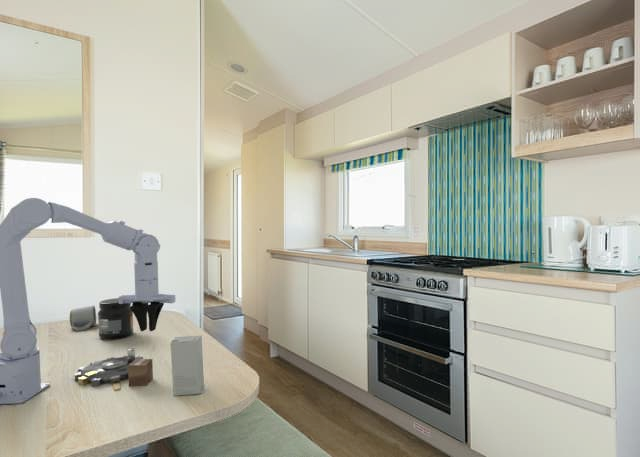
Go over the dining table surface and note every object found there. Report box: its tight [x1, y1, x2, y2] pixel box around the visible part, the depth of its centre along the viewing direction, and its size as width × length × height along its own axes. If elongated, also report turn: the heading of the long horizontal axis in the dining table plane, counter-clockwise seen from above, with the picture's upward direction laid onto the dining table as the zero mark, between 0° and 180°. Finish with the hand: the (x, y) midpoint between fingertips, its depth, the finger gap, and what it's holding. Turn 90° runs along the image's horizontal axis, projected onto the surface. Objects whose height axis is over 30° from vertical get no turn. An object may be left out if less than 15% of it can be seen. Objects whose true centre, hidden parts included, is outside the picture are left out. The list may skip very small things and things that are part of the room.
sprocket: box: [74, 347, 144, 387], centre depth 100 cm, size 16×16×4 cm
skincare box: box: [170, 335, 205, 397], centre depth 88 cm, size 6×4×12 cm
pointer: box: [112, 383, 121, 392], centre depth 91 cm, size 4×1×1 cm, turn 32°
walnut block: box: [127, 358, 154, 387], centre depth 93 cm, size 4×4×5 cm
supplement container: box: [97, 297, 134, 341], centre depth 133 cm, size 10×10×12 cm
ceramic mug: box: [69, 305, 97, 332], centre depth 144 cm, size 10×8×7 cm
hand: (148, 330), depth 105 cm, fingers closed
